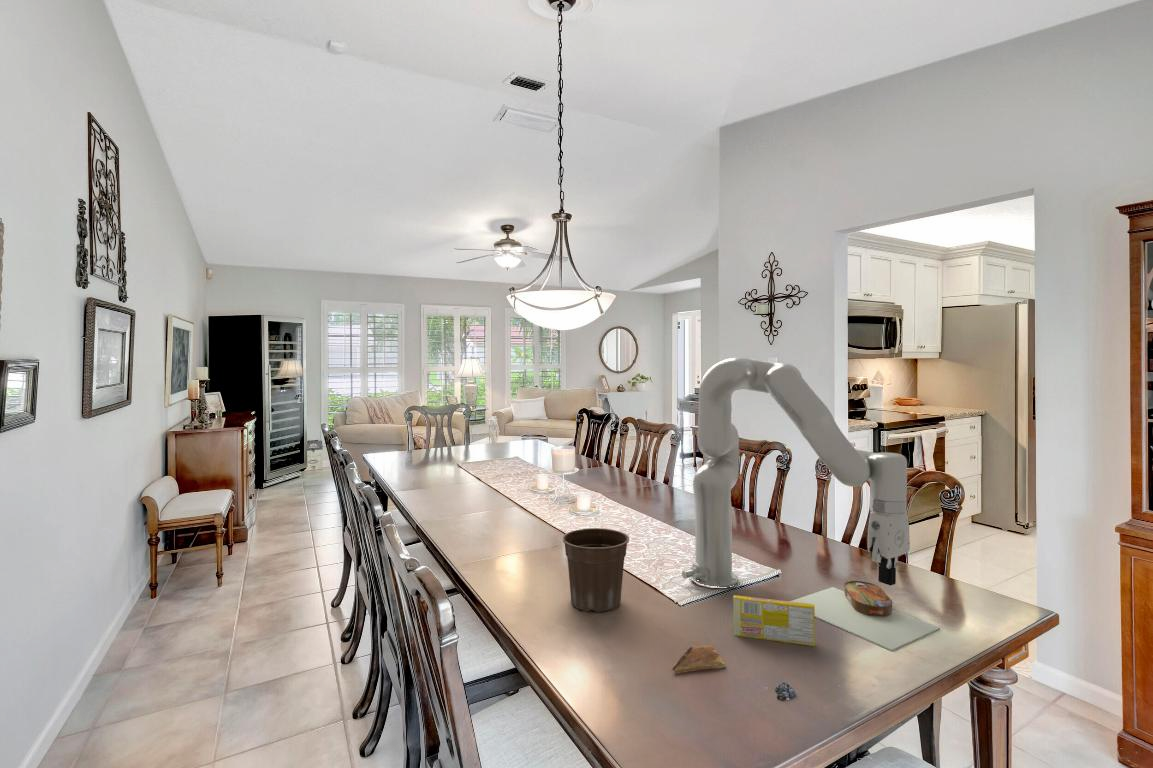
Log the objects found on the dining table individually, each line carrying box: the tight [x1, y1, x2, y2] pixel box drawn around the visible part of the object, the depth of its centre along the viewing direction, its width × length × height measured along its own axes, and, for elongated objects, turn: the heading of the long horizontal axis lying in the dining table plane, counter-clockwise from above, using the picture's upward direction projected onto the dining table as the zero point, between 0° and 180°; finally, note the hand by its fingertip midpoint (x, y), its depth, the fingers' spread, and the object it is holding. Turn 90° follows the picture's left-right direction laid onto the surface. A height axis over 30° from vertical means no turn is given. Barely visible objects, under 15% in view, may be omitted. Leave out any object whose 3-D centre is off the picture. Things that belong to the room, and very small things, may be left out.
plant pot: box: [562, 527, 630, 613], centre depth 138 cm, size 16×16×16 cm
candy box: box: [732, 594, 816, 647], centre depth 119 cm, size 16×2×8 cm, turn 71°
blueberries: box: [764, 682, 796, 702], centre depth 100 cm, size 7×8×2 cm
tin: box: [843, 580, 894, 616], centre depth 135 cm, size 15×3×8 cm
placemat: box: [790, 586, 941, 652], centre depth 129 cm, size 18×26×1 cm
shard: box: [671, 645, 726, 674], centre depth 111 cm, size 11×8×2 cm
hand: (886, 582), depth 133 cm, fingers closed
